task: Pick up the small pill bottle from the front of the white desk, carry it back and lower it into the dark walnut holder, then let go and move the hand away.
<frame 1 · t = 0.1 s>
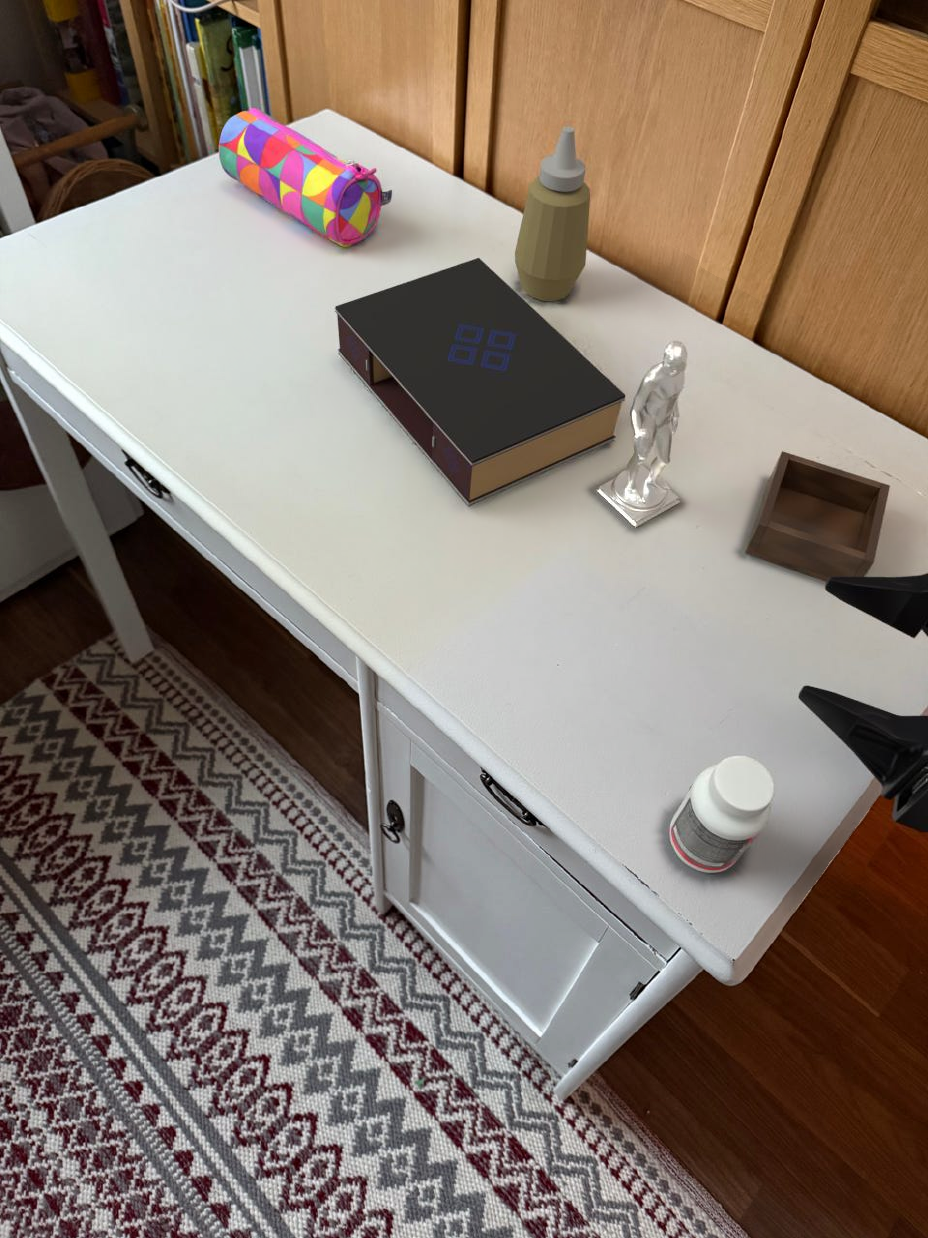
hand: (814, 634, 58), 17 cm above the table, tool horizontal, fingers open, 9 cm apart
book: (471, 403, 93), on the table
squeeze bottle: (545, 288, 105), on the table
figurine: (630, 502, 86), on the table
pill bottle: (703, 840, 67), on the table
pencil case: (306, 211, 112), on the table
holder: (809, 533, 85), on the table
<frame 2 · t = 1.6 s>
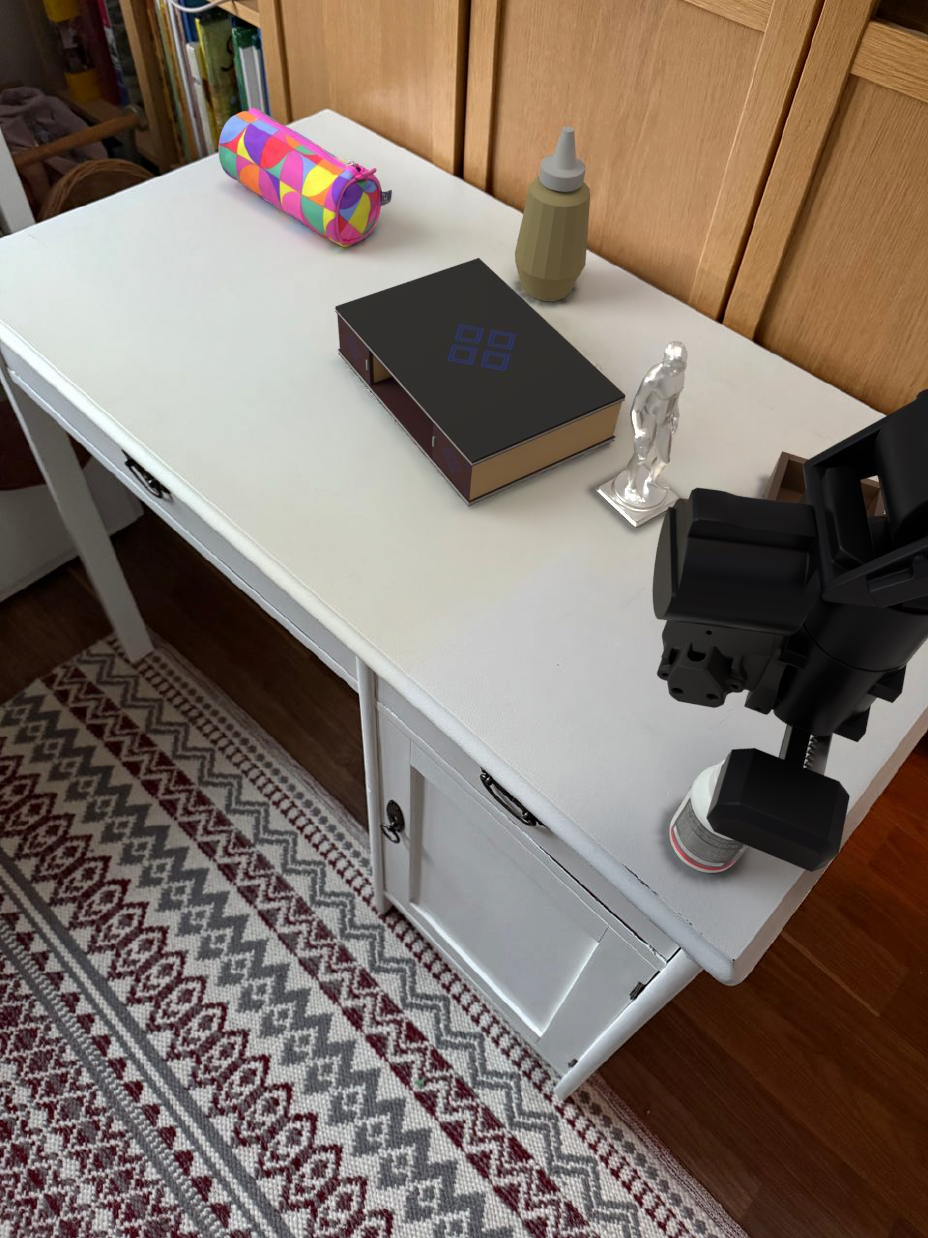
hand: (755, 764, 57), 12 cm above the table, tool pointing down, fingers open, 9 cm apart
nothing on the table moved.
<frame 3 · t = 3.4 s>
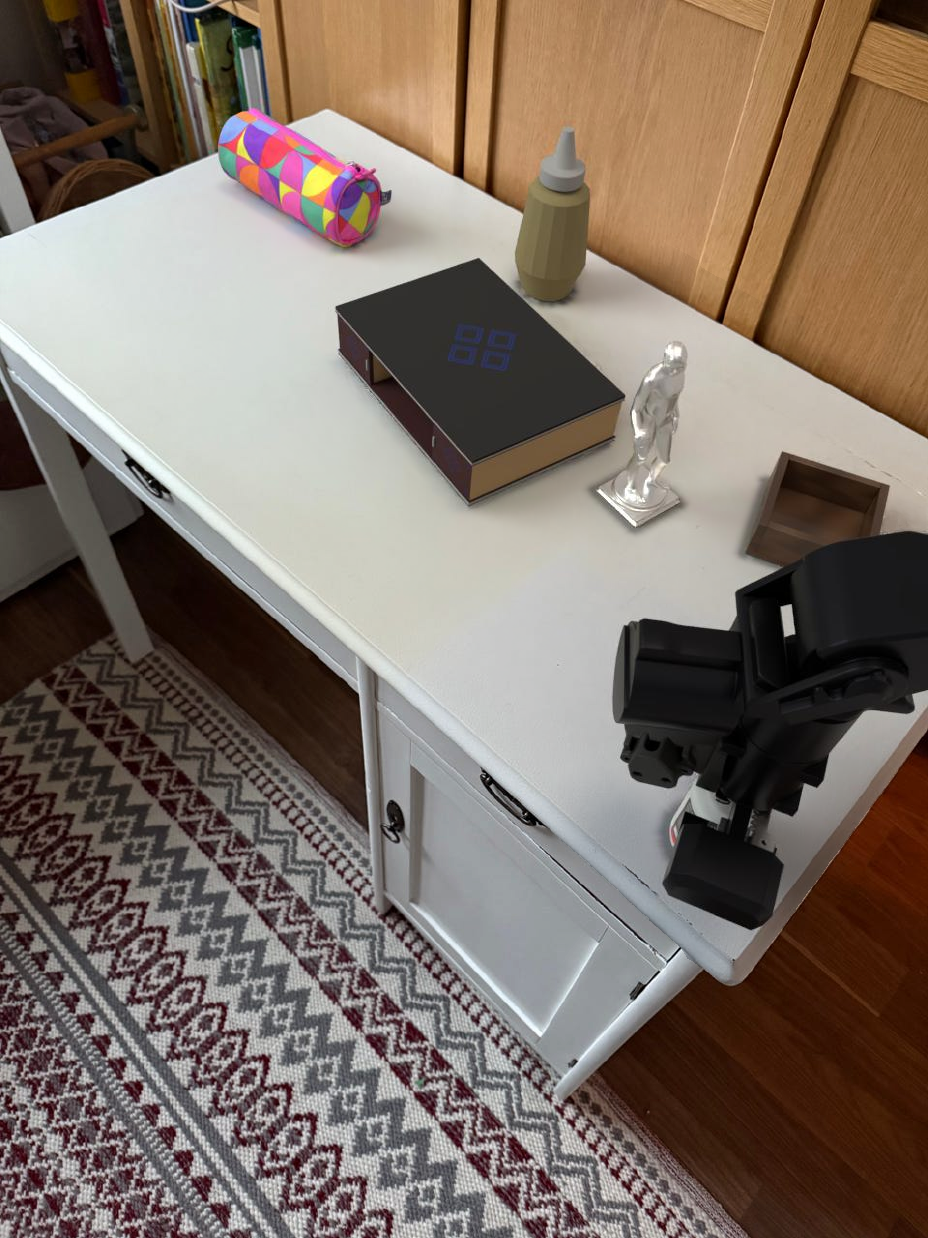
hand: (713, 825, 65), 3 cm above the table, tool pointing down, fingers closed on pill bottle, 5 cm apart
pill bottle: (703, 840, 67), on the table, touching gripper
everything else where it was.
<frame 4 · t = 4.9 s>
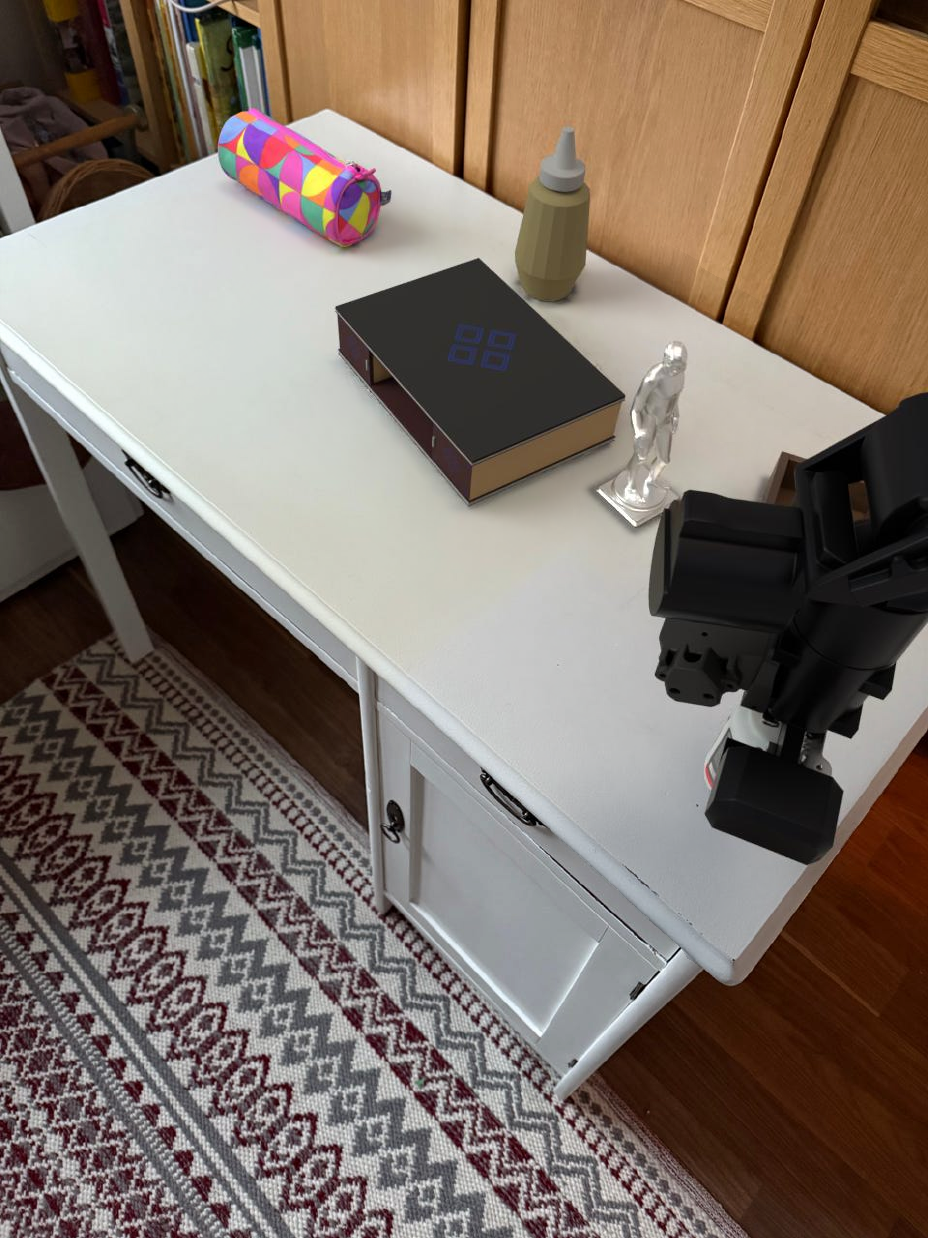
hand: (754, 761, 58), 11 cm above the table, tool pointing down, fingers closed on pill bottle, 5 cm apart
pill bottle: (741, 780, 61), point 8 cm above the table, touching gripper
everything else where it was.
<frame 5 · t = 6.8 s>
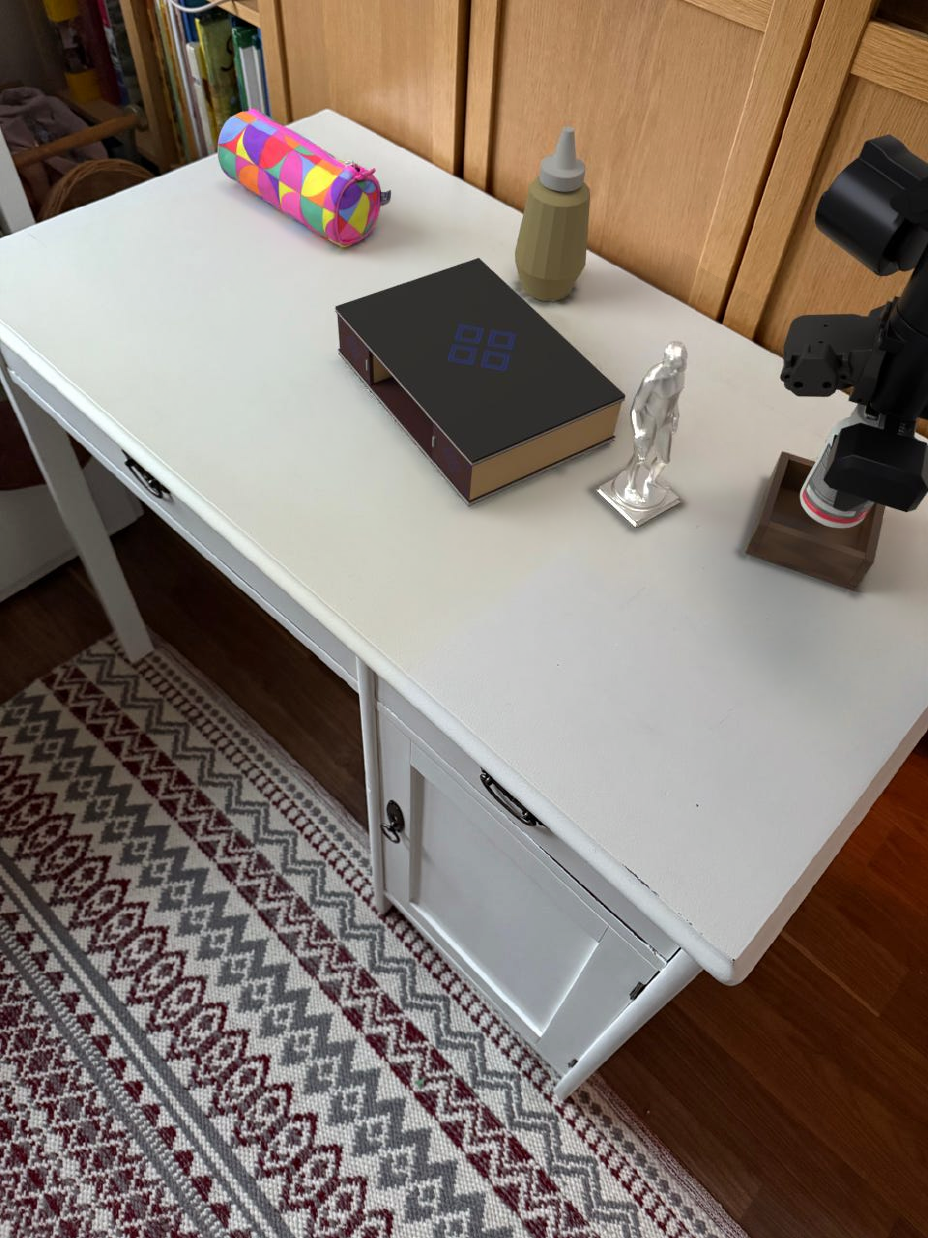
hand: (845, 483, 71), 13 cm above the table, tool pointing down, fingers closed on pill bottle, 5 cm apart
pill bottle: (830, 506, 73), point 10 cm above the table, touching gripper
everything else where it was.
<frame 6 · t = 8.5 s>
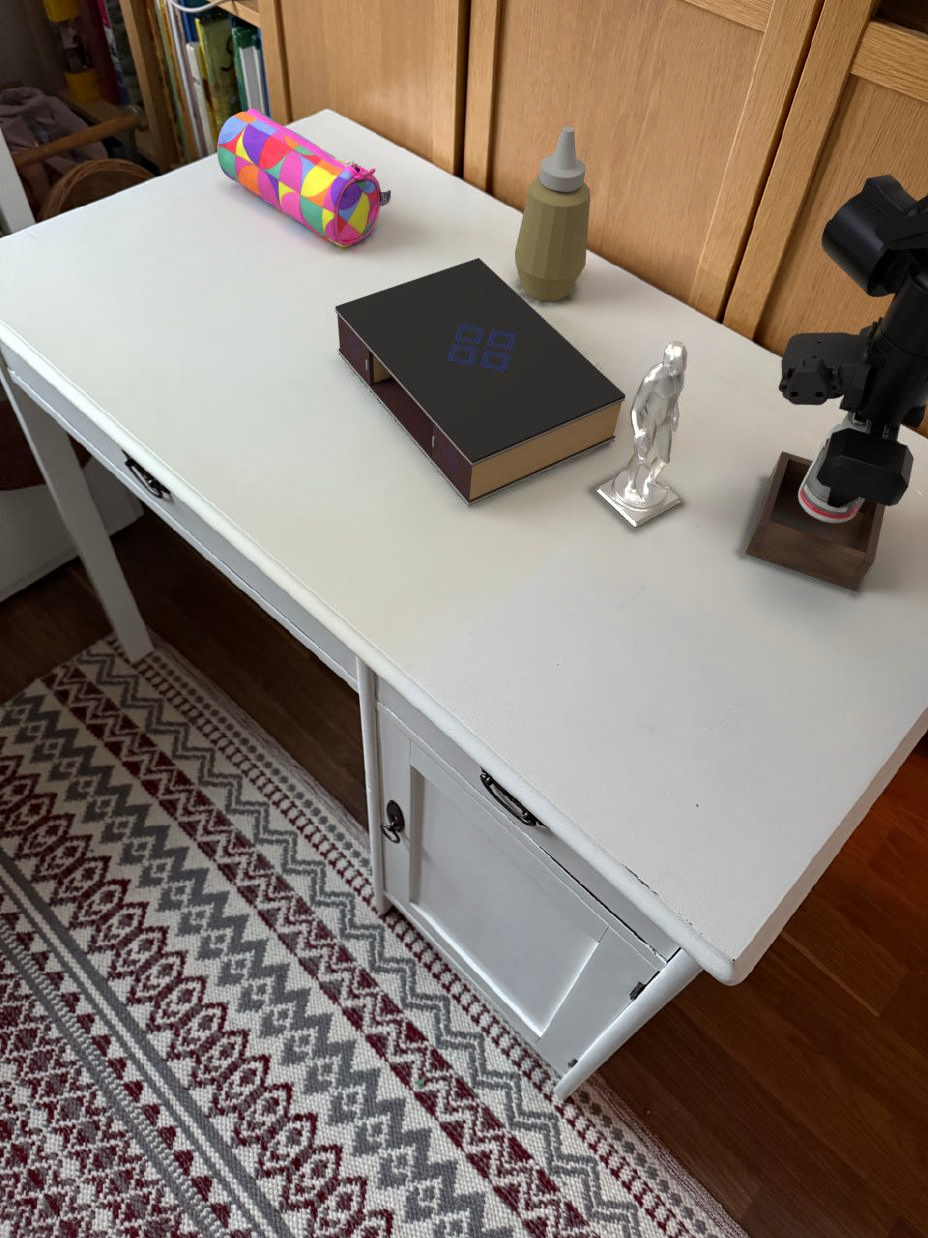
hand: (838, 483, 79), 7 cm above the table, tool pointing down, fingers closed on pill bottle, 5 cm apart
pill bottle: (825, 504, 81), point 4 cm above the table, touching gripper
everything else where it was.
when the fingers open (3 cm above the table, at t = 10.4 s): pill bottle stays where it is, resting on holder.
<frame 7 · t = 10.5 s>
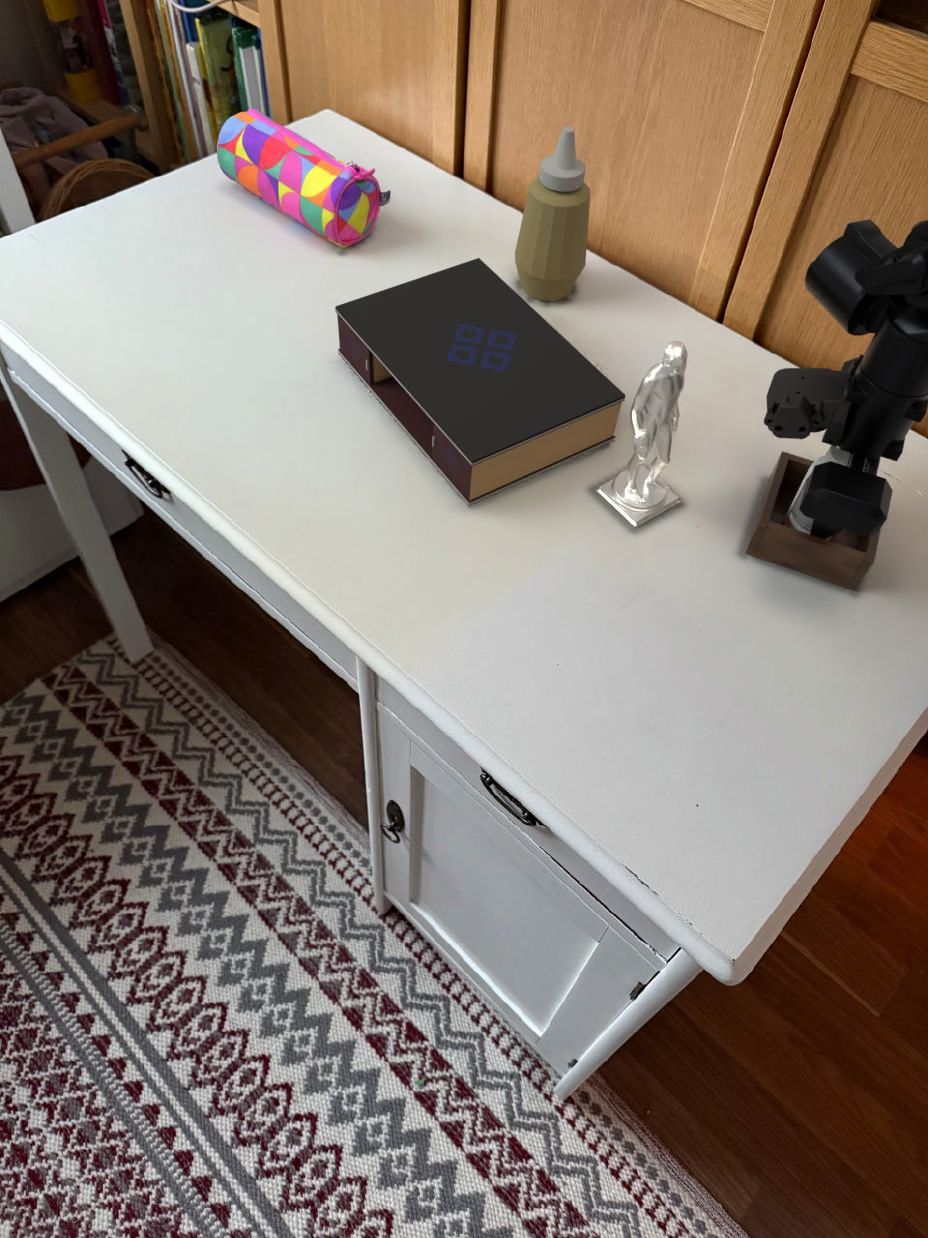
hand: (822, 510, 82), 3 cm above the table, tool pointing down, fingers open, 7 cm apart
pill bottle: (810, 531, 84), resting on holder
everything else where it was.
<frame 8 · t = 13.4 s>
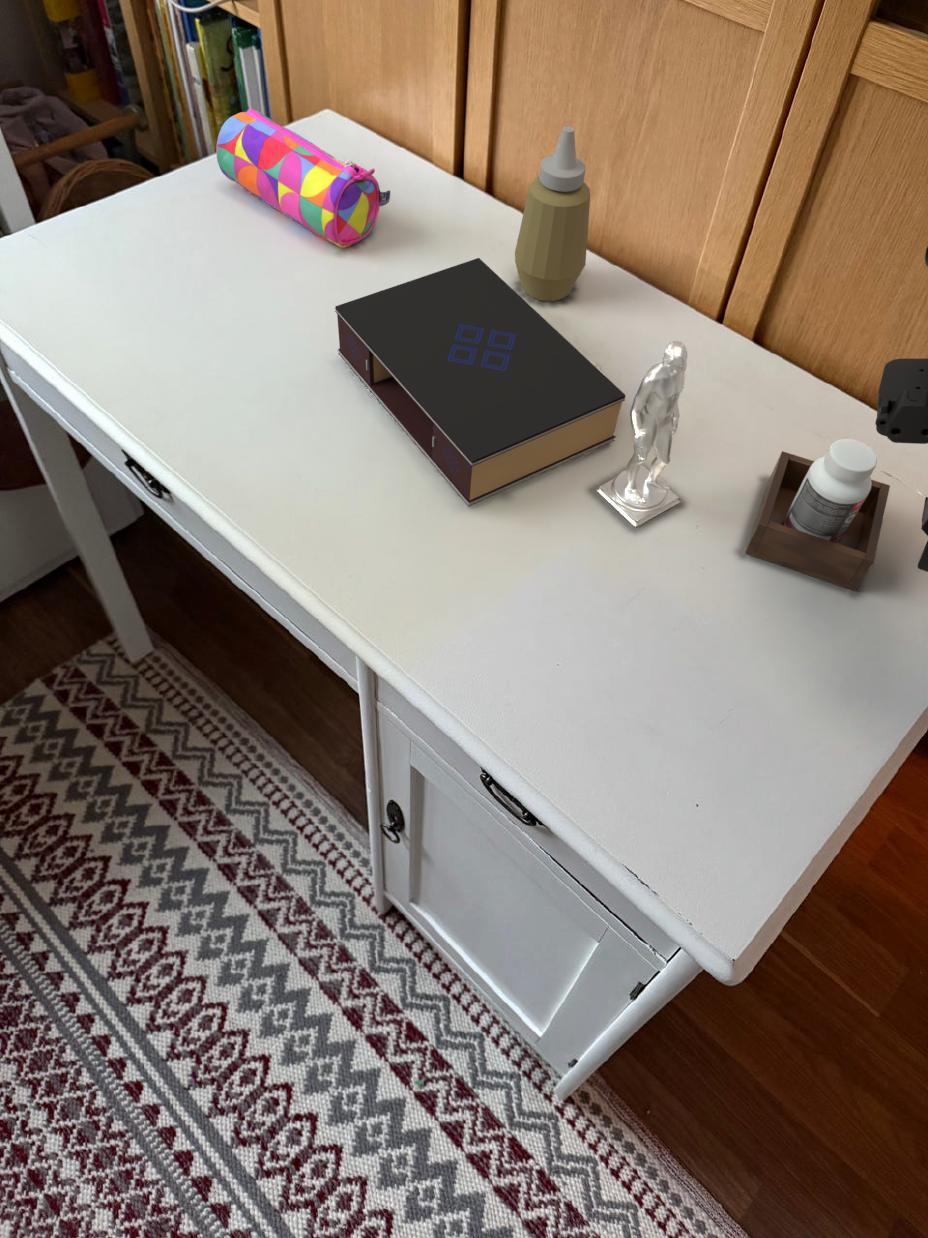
nothing on the table moved.
at the end: pill bottle inside the target area in the holder (0.1 cm from its centre), point 0.4 cm above the holder's base; the gripper is holding nothing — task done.
